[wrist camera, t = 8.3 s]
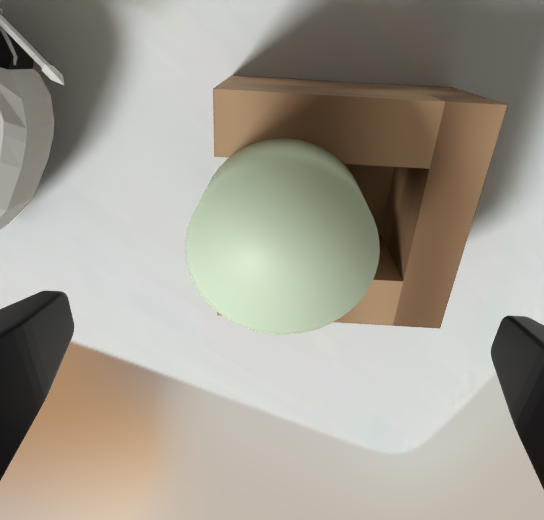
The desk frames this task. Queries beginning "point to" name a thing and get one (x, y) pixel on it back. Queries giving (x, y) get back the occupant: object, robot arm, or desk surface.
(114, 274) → the desk surface
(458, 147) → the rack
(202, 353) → the desk surface
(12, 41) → the robot toy
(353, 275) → the peg
